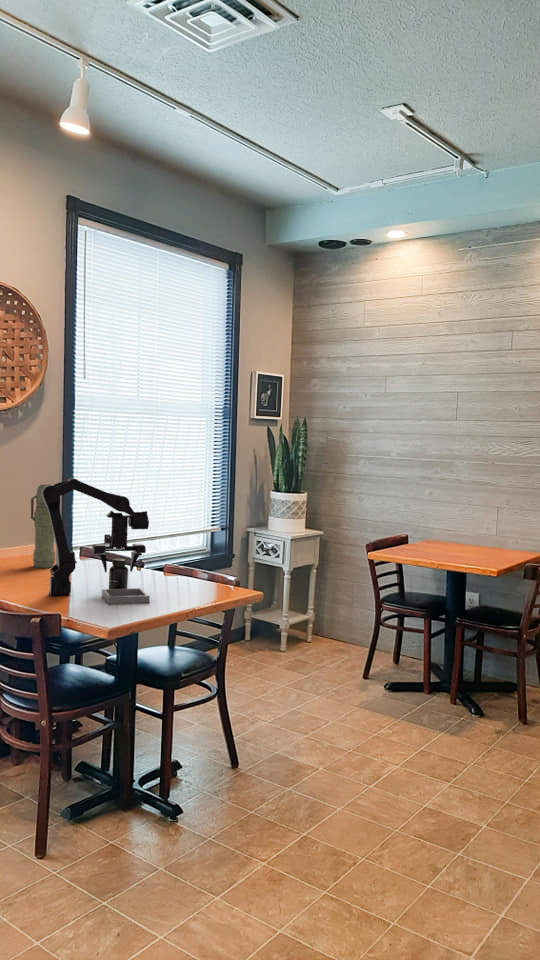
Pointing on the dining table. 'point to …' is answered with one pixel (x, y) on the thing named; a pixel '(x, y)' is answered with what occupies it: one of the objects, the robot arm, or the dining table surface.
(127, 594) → the tray
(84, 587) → the dining table surface
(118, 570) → the supplement bottle
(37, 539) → the thermos
